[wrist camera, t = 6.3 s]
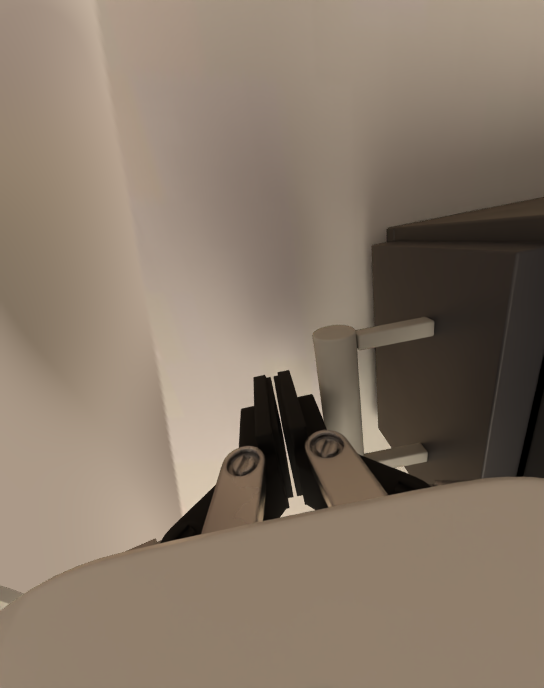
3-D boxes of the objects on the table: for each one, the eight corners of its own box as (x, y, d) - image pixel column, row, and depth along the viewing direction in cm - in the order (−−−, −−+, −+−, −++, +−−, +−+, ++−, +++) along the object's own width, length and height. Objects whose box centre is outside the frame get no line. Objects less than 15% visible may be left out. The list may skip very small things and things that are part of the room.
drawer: (314, 440, 17) (358, 584, 10) (286, 261, 13) (328, 288, 6) (581, 388, 17) (816, 495, 10) (639, 192, 13) (1118, 134, 6)
